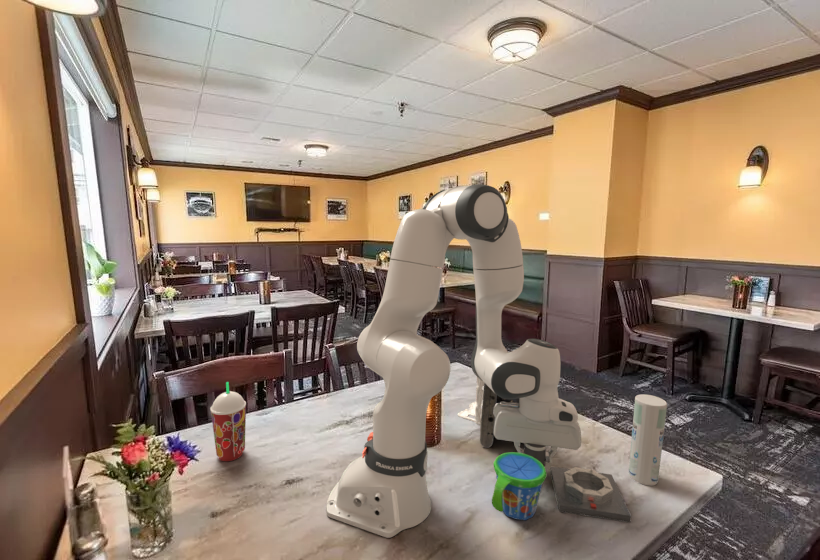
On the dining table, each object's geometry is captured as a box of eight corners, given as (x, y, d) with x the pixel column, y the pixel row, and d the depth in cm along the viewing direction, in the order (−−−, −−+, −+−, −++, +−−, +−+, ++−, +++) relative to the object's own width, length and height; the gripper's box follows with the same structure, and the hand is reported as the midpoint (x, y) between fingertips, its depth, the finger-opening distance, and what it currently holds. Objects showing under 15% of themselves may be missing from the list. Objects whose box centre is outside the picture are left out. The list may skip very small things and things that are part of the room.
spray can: (658, 489, 92) (667, 408, 89) (627, 480, 95) (634, 401, 93) (658, 474, 97) (666, 398, 95) (628, 466, 101) (635, 392, 98)
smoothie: (253, 455, 103) (250, 382, 100) (221, 469, 97) (216, 392, 94) (239, 443, 109) (236, 373, 106) (208, 455, 103) (203, 382, 100)
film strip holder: (474, 400, 137) (476, 345, 135) (512, 412, 129) (515, 353, 127) (454, 416, 126) (455, 356, 123) (494, 430, 118) (497, 366, 115)
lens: (523, 475, 95) (525, 444, 94) (522, 463, 100) (524, 433, 99) (545, 478, 94) (547, 447, 93) (543, 466, 99) (545, 436, 98)
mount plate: (559, 511, 84) (560, 496, 84) (550, 471, 98) (551, 458, 97) (630, 522, 82) (631, 507, 81) (611, 480, 95) (612, 466, 95)
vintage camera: (537, 456, 105) (544, 385, 103) (478, 447, 108) (484, 378, 106) (533, 438, 115) (539, 372, 112) (479, 430, 118) (484, 366, 115)
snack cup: (521, 482, 94) (523, 442, 92) (560, 509, 85) (563, 465, 84) (473, 509, 85) (475, 465, 83) (511, 541, 76) (514, 493, 75)
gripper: (493, 406, 94) (490, 460, 96) (585, 417, 90) (580, 473, 92) (494, 395, 100) (491, 446, 102) (579, 405, 96) (575, 458, 98)
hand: (534, 459), depth 97 cm, fingers closed on lens, 5 cm apart
